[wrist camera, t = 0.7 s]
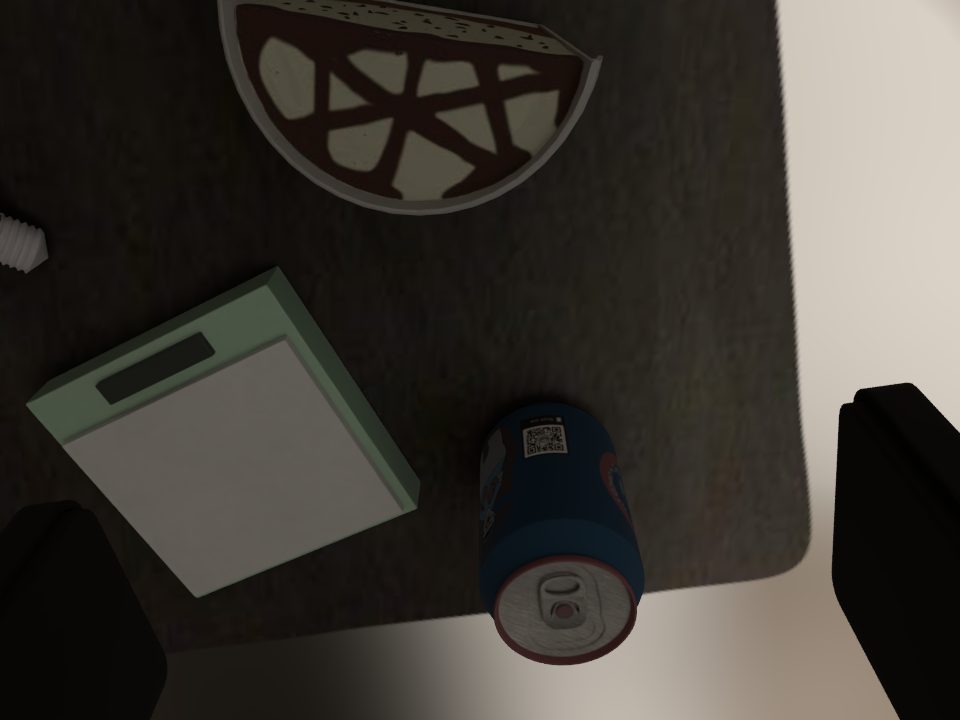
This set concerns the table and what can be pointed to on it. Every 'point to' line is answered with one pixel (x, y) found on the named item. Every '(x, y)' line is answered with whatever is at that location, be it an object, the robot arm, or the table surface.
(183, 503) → the scale
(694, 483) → the table surface
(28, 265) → the light bulb
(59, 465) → the table surface
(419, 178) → the food container
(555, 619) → the soda can
